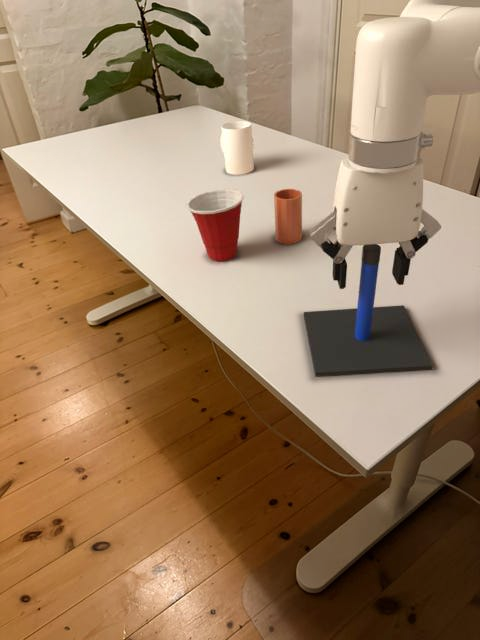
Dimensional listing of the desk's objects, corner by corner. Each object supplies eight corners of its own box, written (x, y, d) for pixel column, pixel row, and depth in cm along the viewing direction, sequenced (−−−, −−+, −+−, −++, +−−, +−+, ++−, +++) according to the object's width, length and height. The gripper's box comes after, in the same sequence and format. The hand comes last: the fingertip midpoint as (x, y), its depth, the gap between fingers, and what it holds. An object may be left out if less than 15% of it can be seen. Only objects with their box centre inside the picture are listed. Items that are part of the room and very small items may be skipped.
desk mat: (403, 309, 74) (403, 305, 74) (432, 369, 63) (433, 365, 63) (303, 315, 75) (303, 311, 75) (315, 376, 64) (315, 372, 64)
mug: (235, 159, 137) (232, 116, 130) (260, 168, 129) (258, 124, 122) (212, 166, 134) (207, 123, 127) (236, 177, 126) (232, 131, 119)
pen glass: (300, 230, 98) (300, 187, 93) (303, 242, 94) (303, 198, 88) (274, 232, 99) (273, 189, 93) (276, 244, 94) (275, 200, 89)
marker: (368, 331, 70) (378, 242, 60) (371, 341, 68) (383, 251, 59) (352, 332, 70) (360, 243, 60) (355, 342, 68) (364, 252, 59)
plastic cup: (208, 238, 99) (201, 184, 92) (256, 244, 95) (252, 188, 88) (185, 264, 91) (175, 207, 84) (235, 272, 87) (229, 213, 80)
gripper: (449, 132, 54) (424, 262, 65) (302, 144, 55) (301, 271, 66) (475, 153, 49) (443, 292, 59) (310, 166, 49) (308, 301, 60)
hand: (369, 280), depth 63 cm, fingers open, 7 cm apart
